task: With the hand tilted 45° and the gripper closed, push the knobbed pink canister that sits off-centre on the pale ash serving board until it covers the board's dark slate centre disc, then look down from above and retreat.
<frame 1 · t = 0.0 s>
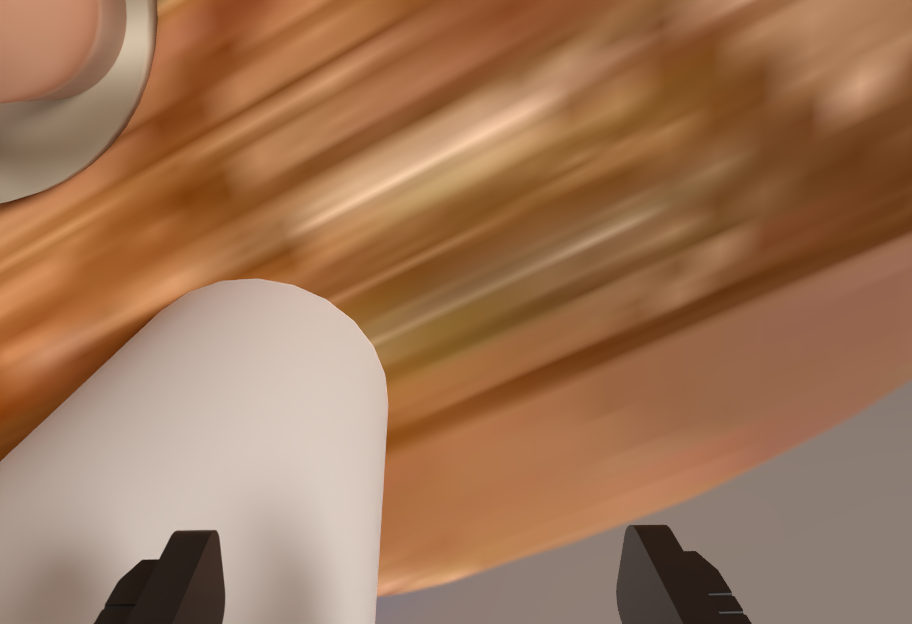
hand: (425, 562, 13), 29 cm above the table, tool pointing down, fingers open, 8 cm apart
cylinder: (261, 398, 43), on the table
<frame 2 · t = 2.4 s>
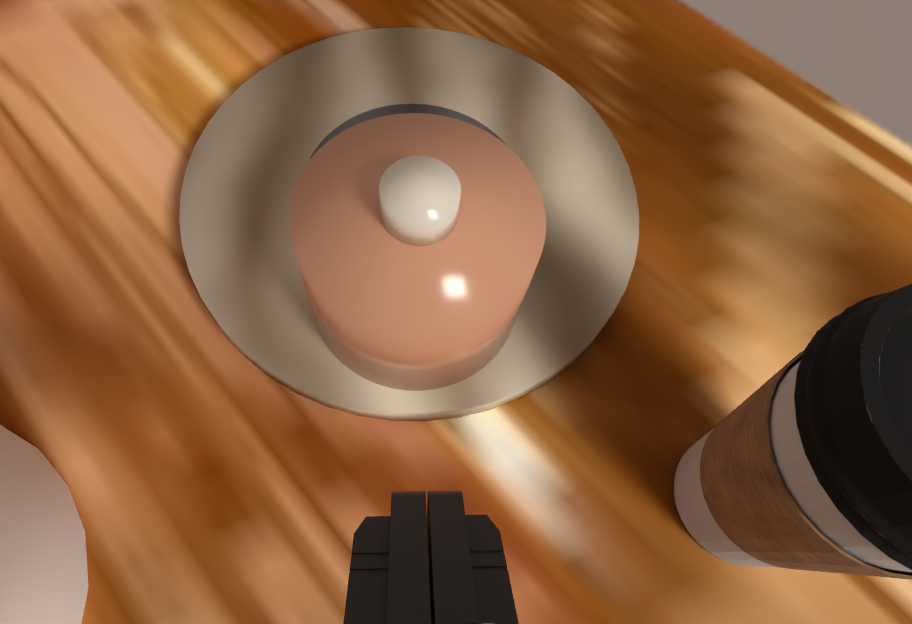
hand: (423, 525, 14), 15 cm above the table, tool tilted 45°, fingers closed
coffee cup: (732, 498, 30), on the table
knobbed pink canister: (416, 292, 31), point 2 cm above the table, touching serving board
serving board: (415, 207, 35), on the table
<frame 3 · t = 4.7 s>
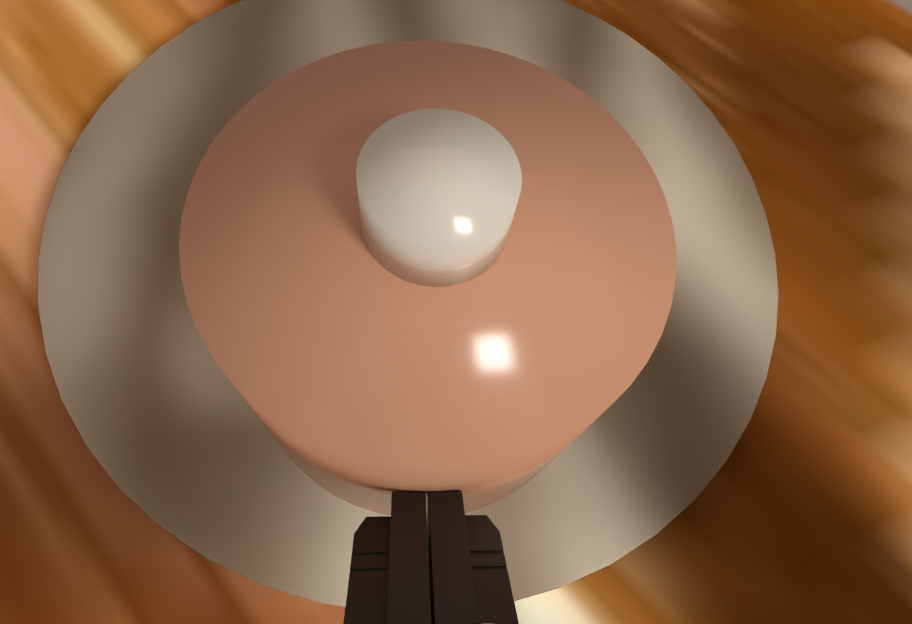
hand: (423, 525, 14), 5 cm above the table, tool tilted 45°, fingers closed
knobbed pink canister: (423, 346, 19), point 2 cm above the table, touching gripper
serving board: (423, 239, 23), on the table
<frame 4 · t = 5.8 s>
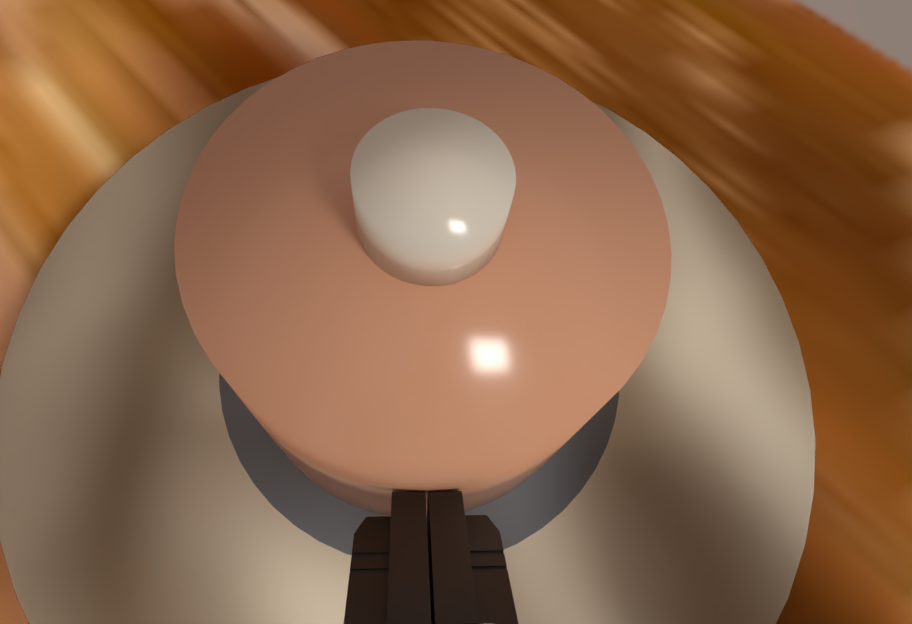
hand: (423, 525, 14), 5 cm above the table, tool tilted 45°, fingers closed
knobbed pink canister: (420, 346, 19), point 2 cm above the table, touching gripper, serving board
serving board: (422, 370, 21), on the table
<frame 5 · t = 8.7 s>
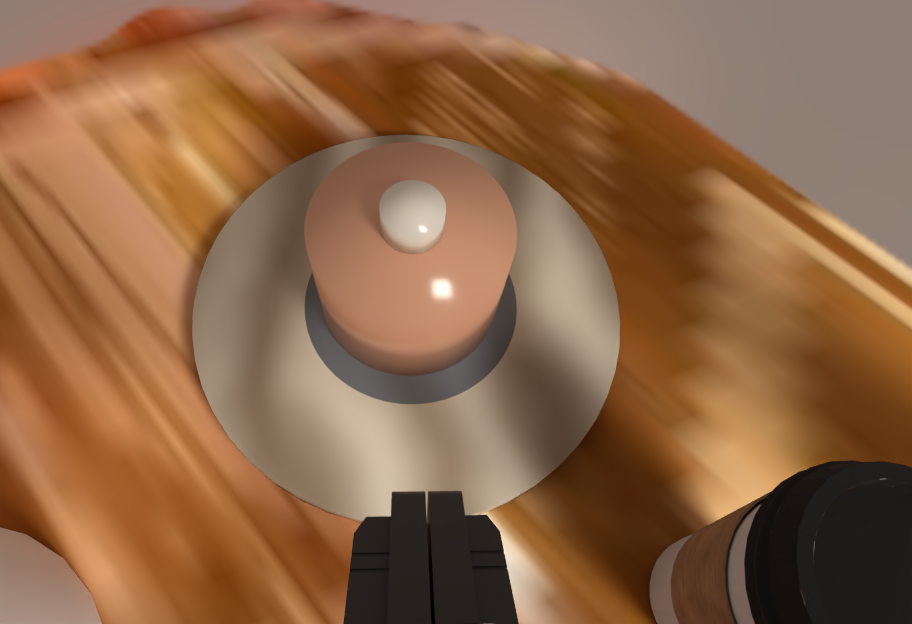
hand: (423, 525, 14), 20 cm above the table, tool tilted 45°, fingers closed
coffee cup: (704, 598, 32), on the table
knobbed pink canister: (410, 292, 36), point 1 cm above the table, touching serving board
serving board: (411, 313, 37), on the table
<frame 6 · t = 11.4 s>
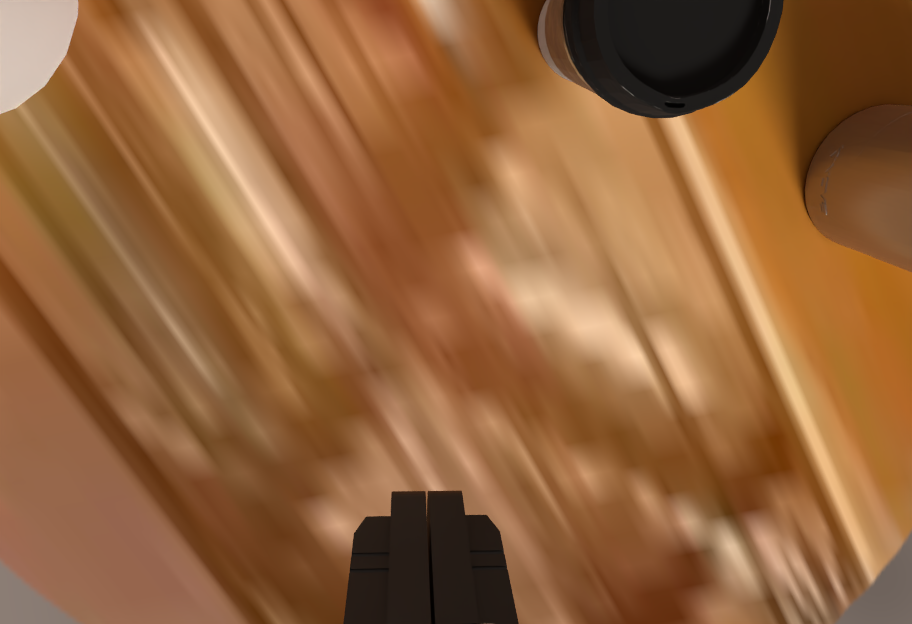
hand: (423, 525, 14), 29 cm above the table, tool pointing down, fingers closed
coffee cup: (585, 29, 38), on the table
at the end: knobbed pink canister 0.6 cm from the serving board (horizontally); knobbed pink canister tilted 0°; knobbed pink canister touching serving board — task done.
